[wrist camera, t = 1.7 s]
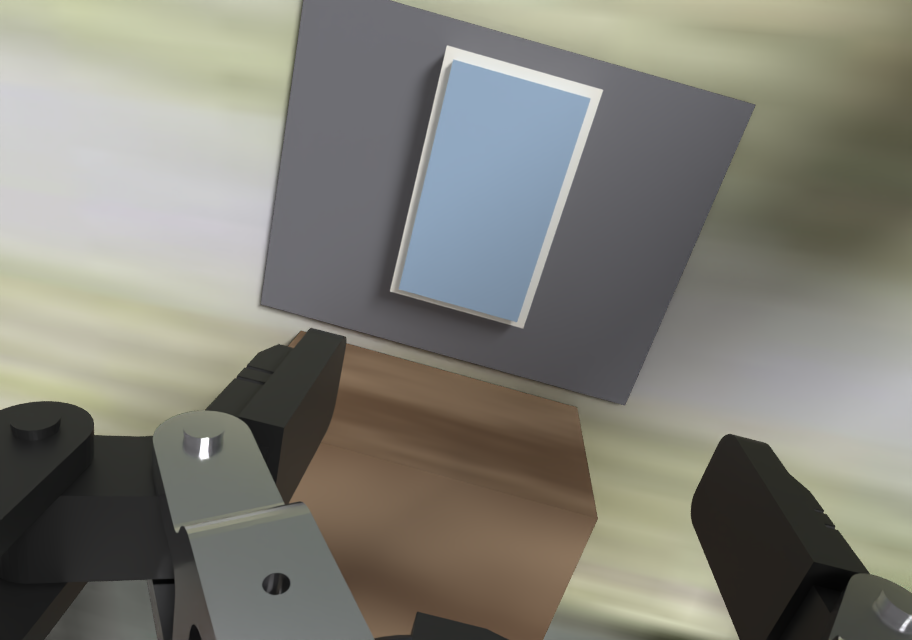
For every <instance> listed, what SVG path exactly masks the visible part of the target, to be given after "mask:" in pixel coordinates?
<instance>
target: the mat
mask: <svg viewBox="0 0 912 640" xmlns="http://www.w3.org/2000/svg"><path fill="white" fill-rule="evenodd" d="M447 45H448V46H451V47H455V48H458V49H462V50H465V51H469V52H472V53H476V54H479V55H483V56H486V57H490V58H493V59H497V60H500V61H504V62H507V63H511V64H514V65H518V66H521V67H525V68H528V69H532V70H535V71H539V72H542V73H546V74H549V75H553V76H556V77H560V78H563V79H567V80H570V81H574V82H577V83H581V84H584V85H588V86H591V87H595V88H599V89H602V90H603V92H602V95H601V98H600V101H599V104H598V107H597V110H596V113H595V116H594V119H593V122H592V125H591V128H590V131H589V134H588V137H587V140H586V143H585V146H584V149H583V152H582V155H581V158H580V161H579V164H578V167H577V170H576V173H575V176H574V179H573V182H572V185H571V188H570V191H569V194H568V197H567V200H566V203H565V206H564V209H563V212H562V214H561V217H560V220H559V223H558V226H557V229H556V232H555V235H554V238H553V241H552V244H551V247H550V250H549V253H548V256H547V259H546V262H545V265H544V268H543V271H542V274H541V277H540V280H539V283H538V286H537V289H536V292H535V295H534V298H533V301H532V304H531V307H530V310H529V313H528V316H527V319H526V322H525V325H524V328H519V327H516V326H512V325H509V324H505V323H501V322H498V321H494V320H491V319H487V318H483V317H480V316H476V315H473V314H469V313H466V312H462V311H458V310H455V309H451V308H448V307H444V306H440V305H437V304H433V303H430V302H426V301H423V300H419V299H415V298H412V297H408V296H405V295H401V294H397V293H394V292H390V289H391V284H392V280H393V276H394V271H395V267H396V263H397V259H398V254H399V250H400V246H401V241H402V237H403V233H404V228H405V224H406V220H407V215H408V211H409V207H410V202H411V198H412V194H413V189H414V185H415V181H416V176H417V172H418V168H419V164H420V159H421V155H422V151H423V146H424V142H425V138H426V133H427V129H428V125H429V120H430V116H431V112H432V107H433V103H434V99H435V94H436V90H437V86H438V81H439V77H440V73H441V68H442V64H443V60H444V56H445V51H446V47H447ZM754 108H755V104H751V103H748V102H744V101H741V100H737V99H734V98H730V97H727V96H723V95H720V94H716V93H713V92H709V91H706V90H702V89H699V88H695V87H692V86H688V85H685V84H681V83H678V82H674V81H671V80H667V79H664V78H660V77H657V76H653V75H650V74H646V73H643V72H639V71H636V70H632V69H629V68H625V67H622V66H618V65H615V64H611V63H608V62H604V61H601V60H597V59H594V58H590V57H587V56H583V55H580V54H576V53H573V52H569V51H566V50H562V49H559V48H555V47H552V46H548V45H545V44H541V43H538V42H534V41H531V40H527V39H524V38H520V37H517V36H513V35H510V34H506V33H503V32H499V31H496V30H492V29H489V28H485V27H482V26H478V25H475V24H471V23H468V22H464V21H461V20H457V19H454V18H450V17H446V16H443V15H439V14H436V13H432V12H429V11H425V10H422V9H418V8H415V7H411V6H408V5H404V4H401V3H397V2H394V1H390V0H303V7H302V14H301V22H300V29H299V36H298V43H297V50H296V57H295V64H294V71H293V78H292V85H291V93H290V100H289V107H288V114H287V121H286V128H285V135H284V142H283V149H282V157H281V164H280V171H279V178H278V185H277V192H276V199H275V206H274V213H273V221H272V228H271V235H270V242H269V249H268V256H267V263H266V270H265V277H264V284H263V292H262V299H261V304H262V305H265V306H269V307H273V308H276V309H280V310H283V311H287V312H291V313H294V314H298V315H301V316H305V317H309V318H312V319H316V320H319V321H323V322H327V323H330V324H334V325H337V326H341V327H345V328H348V329H352V330H355V331H359V332H363V333H366V334H370V335H373V336H377V337H380V338H384V339H388V340H391V341H395V342H398V343H402V344H406V345H409V346H413V347H416V348H420V349H424V350H427V351H431V352H434V353H438V354H442V355H445V356H449V357H452V358H456V359H460V360H463V361H467V362H470V363H474V364H478V365H481V366H485V367H488V368H492V369H496V370H499V371H503V372H506V373H510V374H514V375H517V376H521V377H524V378H528V379H532V380H535V381H539V382H542V383H546V384H550V385H553V386H557V387H560V388H564V389H568V390H571V391H575V392H578V393H582V394H585V395H589V396H593V397H596V398H600V399H603V400H607V401H611V402H614V403H618V404H621V405H625V404H626V402H627V400H628V398H629V395H630V393H631V391H632V388H633V386H634V384H635V381H636V379H637V377H638V375H639V372H640V370H641V368H642V365H643V363H644V361H645V358H646V356H647V354H648V351H649V349H650V347H651V345H652V342H653V340H654V338H655V335H656V333H657V331H658V328H659V326H660V324H661V322H662V319H663V317H664V315H665V312H666V310H667V308H668V305H669V303H670V301H671V299H672V296H673V294H674V292H675V289H676V287H677V285H678V282H679V280H680V278H681V276H682V273H683V271H684V269H685V266H686V264H687V262H688V259H689V257H690V255H691V253H692V250H693V248H694V246H695V243H696V241H697V239H698V236H699V234H700V232H701V230H702V227H703V225H704V223H705V220H706V218H707V216H708V213H709V211H710V209H711V207H712V204H713V202H714V200H715V197H716V195H717V193H718V190H719V188H720V186H721V184H722V181H723V179H724V177H725V174H726V172H727V170H728V167H729V165H730V163H731V160H732V158H733V156H734V154H735V151H736V149H737V147H738V144H739V142H740V140H741V137H742V135H743V133H744V131H745V128H746V126H747V124H748V121H749V119H750V117H751V114H752V112H753V110H754Z"/></svg>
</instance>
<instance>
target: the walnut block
mask: <svg viewBox="0 0 912 640" xmlns="http://www.w3.org/2000/svg"><path fill="white" fill-rule="evenodd" d="M305 334H306V332H304V331H300V333H299V334H298V335H297V336H296V337H295V339H294V340H293V341H292V342H291V343H290V344H289V346H288V347H292V348H294V347H295V346H296V345H297V343H298V342H299V341H300V340H301V339H302V337H303V336H304V335H305ZM299 501H301V502H303V503H304V504H306V506H307V507H308V508H309V510H310V512H311V514H312V516H313V518H314V520H315V522H316V524H317V526H318V528H319V530H320V532H321V534H322V536H323V538H324V540H325V542H326V544H327V546H328V548H329V550H330V552H331V554H332V556H333V558H334V560H335V562H336V564H337V566H338V568H339V570H340V572H341V574H342V575H343V577H344V579H345V581H346V583H347V585H348V587H349V589H350V591H351V593H352V595H353V597H354V599H355V601H356V603H357V605H358V607H359V609H360V611H361V613H362V615H363V617H364V619H365V621H366V623H367V625H368V627H369V629H370V631H371V633H372V635H373V637H374V638H378V637H384V636H392V635H410V634H411V630H412V627H413V623H414V620H415V616H416V613H417V612H421V613H425V614H429V615H434V616H438V617H442V618H446V619H450V620H454V621H458V622H462V623H466V624H470V625H474V626H478V627H482V628H486V629H488V630H490V631H492V632H494V633H496V634H498V635H500V636H502V637H504V638H507V639H509V640H543V639H544V636H545V634H546V632H547V630H548V628H549V625H550V623H551V621H552V619H553V617H554V614H555V612H556V610H557V608H558V605H559V603H560V601H561V599H562V597H563V594H564V592H565V590H566V588H567V586H568V583H569V581H570V579H571V577H572V575H573V572H574V570H575V568H576V566H577V564H578V561H579V559H580V557H581V555H582V553H583V550H584V548H585V546H586V544H587V541H588V539H589V537H590V535H591V533H592V530H593V528H594V526H595V524H596V522H597V519H598V517H597V512H596V506H595V501H594V495H593V490H592V485H591V479H590V474H589V469H588V463H587V458H586V453H585V447H584V442H583V436H582V431H581V426H580V420H579V415H578V410H577V407H574V406H570V405H566V404H563V403H559V402H556V401H552V400H548V399H545V398H541V397H538V396H534V395H530V394H527V393H523V392H520V391H516V390H512V389H509V388H505V387H502V386H498V385H494V384H491V383H487V382H484V381H480V380H476V379H473V378H469V377H466V376H462V375H458V374H455V373H451V372H448V371H444V370H440V369H437V368H433V367H430V366H426V365H422V364H419V363H415V362H412V361H408V360H404V359H401V358H397V357H394V356H390V355H386V354H383V353H379V352H376V351H372V350H368V349H365V348H361V347H358V346H354V345H350V344H347V343H346V349H345V355H344V360H343V366H342V371H341V377H340V382H339V388H338V394H337V399H336V404H335V409H334V412H333V416H332V419H331V422H330V425H329V427H328V430H327V432H326V434H325V436H324V438H323V439H322V441H321V443H320V445H319V447H318V449H317V451H316V453H315V455H314V456H313V458H312V460H311V462H310V464H309V466H308V468H307V470H306V472H305V474H304V475H303V477H302V479H301V481H300V483H299V485H298V487H297V489H296V491H295V492H294V494H293V496H292V498H291V500H290V502H289V503H294V502H299Z"/></svg>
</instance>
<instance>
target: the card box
mask: <svg viewBox="0 0 912 640" xmlns="http://www.w3.org/2000/svg"><path fill="white" fill-rule="evenodd" d="M602 92H603V90H602V89H599V88H595V87H591V86H588V85H584V84H581V83H577V82H574V81H570V80H567V79H563V78H560V77H556V76H553V75H549V74H546V73H542V72H539V71H535V70H532V69H528V68H525V67H521V66H518V65H514V64H511V63H507V62H504V61H500V60H497V59H493V58H490V57H486V56H483V55H479V54H476V53H472V52H469V51H465V50H462V49H458V48H455V47H451V46H448V45H447V47H446V51H445V56H444V60H443V64H442V68H441V73H440V77H439V81H438V86H437V90H436V94H435V99H434V103H433V107H432V112H431V116H430V120H429V125H428V129H427V133H426V138H425V142H424V146H423V151H422V155H421V159H420V164H419V168H418V172H417V176H416V181H415V185H414V189H413V194H412V198H411V202H410V207H409V211H408V215H407V220H406V224H405V228H404V233H403V237H402V241H401V246H400V250H399V254H398V259H397V263H396V267H395V271H394V276H393V280H392V284H391V289H390V292H394V293H397V294H401V295H405V296H408V297H412V298H415V299H419V300H423V301H426V302H430V303H433V304H437V305H440V306H444V307H448V308H451V309H455V310H458V311H462V312H466V313H469V314H473V315H476V316H480V317H483V318H487V319H491V320H494V321H498V322H501V323H505V324H509V325H512V326H516V327H519V328H524V325H525V322H526V319H527V316H528V313H529V310H530V307H531V304H532V301H533V298H534V295H535V292H536V289H537V286H538V283H539V280H540V277H541V274H542V271H543V268H544V265H545V262H546V259H547V256H548V253H549V250H550V247H551V244H552V241H553V238H554V235H555V232H556V229H557V226H558V223H559V220H560V217H561V214H562V212H563V209H564V206H565V203H566V200H567V197H568V194H569V191H570V188H571V185H572V182H573V179H574V176H575V173H576V170H577V167H578V164H579V161H580V158H581V155H582V152H583V149H584V146H585V143H586V140H587V137H588V134H589V131H590V128H591V125H592V122H593V119H594V116H595V113H596V110H597V107H598V104H599V101H600V98H601V95H602Z"/></svg>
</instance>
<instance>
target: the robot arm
mask: <svg viewBox="0 0 912 640" xmlns="http://www.w3.org/2000/svg"><path fill="white" fill-rule="evenodd" d="M345 349H346V337H345V336H341V335H337V334H333V333H329V332H325V331H321V330H317V329H313V328H310V329H309V330H308V331H307V332H306V334H305V335H304V336H303V337H302V339H301V340H300V341H299V342H298V343H297V345H296V346H295V347H294V348H292V347H288V346H284V345H280V344H278V345H276V346H273V347H271V348H269V349H266V350H264V351H261V352H259V353H258V354H257V355H256V356H255V357H254V358H253V359H252V360H251V361H250V363H249V364H248V365H247V367H246V368H244V369H243V370H242V371H241V372H240V373H239V374H238V375H237V378H235V379H234V380H233V381H232V382H231V383H230V384H229V385H228V386H227V387H226V388H225V389H224V390H223V392H222V393H221V394H220V395H219V396H218V397H217V398H216V399H215V400H214V401H213V402H212V403H211V404H210V405H209V407H208V408H207V409H206V410H205V411H192V412H186V413H182V414H179V415H176V416H173V417H171V418H169V419H167V420H166V421H164V422H163V423H162V424H160V425H159V426H158V428H157V429H156V430H155V432H154V435H153V436H146V437H131V436H102V435H94V422H93V418H92V417H91V415H90V414H89V413H88V412H87V411H85V410H84V409H82V408H80V407H78V406H75V405H72V404H68V403H62V402H52V401H41V402H30V403H24V404H19V405H15V406H11V407H8V408H5V409H2V410H0V640H44V639H45V638H46V636H47V635H48V634H49V632H50V631H51V630H52V629H53V627H54V626H55V625H56V623H57V622H58V621H59V619H60V618H61V617H62V615H63V614H64V613H65V611H66V610H67V609H68V607H69V606H70V605H71V603H72V602H73V601H74V599H75V598H76V597H77V595H78V594H79V593H80V591H81V590H82V589H83V587H84V586H85V585H86V584H87V582H91V581H120V580H147V584H148V590H149V595H150V601H151V606H152V612H153V617H154V623H155V628H156V634H157V639H158V640H509V639H507V638H504V637H502V636H500V635H498V634H496V633H494V632H492V631H490V630H488V629H486V628H482V627H478V626H474V625H470V624H466V623H462V622H458V621H454V620H450V619H446V618H442V617H438V616H434V615H429V614H425V613H421V612H417V613H416V616H415V620H414V623H413V627H412V630H411V634H410V635H392V636H384V637H378V638H374V637H373V635H372V633H371V631H370V629H369V627H368V625H367V623H366V621H365V619H364V617H363V615H362V613H361V611H360V609H359V607H358V605H357V603H356V601H355V599H354V597H353V595H352V593H351V591H350V589H349V587H348V585H347V583H346V581H345V579H344V577H343V575H342V574H341V572H340V570H339V568H338V566H337V564H336V562H335V560H334V558H333V556H332V554H331V552H330V550H329V548H328V546H327V544H326V542H325V540H324V538H323V536H322V534H321V532H320V530H319V528H318V526H317V524H316V522H315V520H314V518H313V516H312V514H311V512H310V510H309V508H308V507H307V506H306V504H304V503H303V502H301V501H299V502H294V503H289V502H290V500H291V498H292V496H293V494H294V492H295V491H296V489H297V487H298V485H299V483H300V481H301V479H302V477H303V475H304V474H305V472H306V470H307V468H308V466H309V464H310V462H311V460H312V458H313V456H314V455H315V453H316V451H317V449H318V447H319V445H320V443H321V441H322V439H323V438H324V436H325V434H326V432H327V430H328V427H329V425H330V422H331V419H332V416H333V412H334V409H335V404H336V399H337V394H338V388H339V382H340V377H341V371H342V366H343V360H344V355H345ZM823 512H824V510H823V509H822V507H821V506H820V505H819V503H818V502H817V500H816V499H815V498H814V496H813V495H812V494H811V492H810V491H809V490H808V489H806V488H805V487H804V486H803V485H802V484H801V483H800V482H798V481H797V480H796V479H795V478H794V477H793V476H791V475H790V474H789V473H788V471H787V470H786V469H785V467H784V466H783V464H782V463H781V461H780V460H779V459H778V457H777V456H776V454H775V453H774V452H773V450H772V449H771V447H770V446H769V445H768V444H766V443H764V442H760V441H756V440H752V439H748V438H744V437H740V436H736V435H732V434H728V435H725V436H724V437H723V438H722V439H721V440H720V442H719V444H718V445H717V448H716V450H715V452H714V454H713V456H712V458H711V460H710V462H709V464H708V466H707V468H706V470H705V472H704V474H703V476H702V479H701V481H700V483H699V485H698V487H697V489H696V491H695V493H694V496H693V499H692V505H691V519H692V524H693V526H694V529H695V531H696V534H697V536H698V539H699V541H700V544H701V546H702V548H703V551H704V553H705V556H706V558H707V561H708V563H709V566H710V568H711V570H712V573H713V575H714V578H715V580H716V583H717V585H718V588H719V590H720V593H721V595H722V597H723V600H724V602H725V605H726V607H727V610H728V612H729V615H730V617H731V619H732V622H733V624H734V627H735V629H736V632H737V634H738V637H739V639H740V640H912V593H911V592H909V591H908V590H906V589H904V588H903V587H901V586H899V585H897V584H895V583H893V582H891V581H889V580H887V579H884V578H882V577H879V576H875V575H872V574H870V573H869V572H868V571H867V569H866V568H865V566H864V565H863V564H862V562H861V561H860V560H859V558H858V557H857V555H856V554H855V553H854V551H853V550H852V549H851V547H850V546H849V544H848V543H847V542H846V540H845V539H844V538H843V536H842V535H841V533H840V532H839V531H838V530H835V525H834V524H833V522H832V521H831V520H830V518H829V517H828V516H827V514H823Z"/></svg>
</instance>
